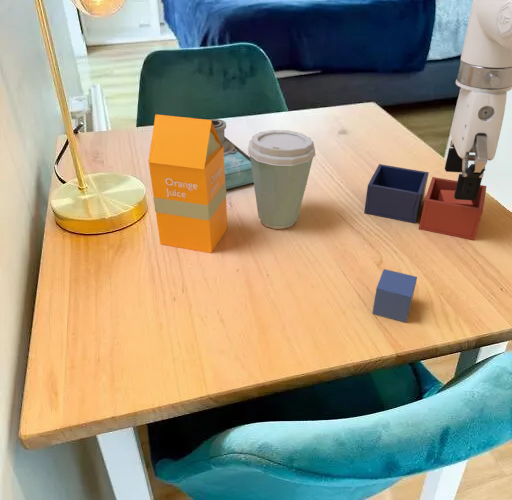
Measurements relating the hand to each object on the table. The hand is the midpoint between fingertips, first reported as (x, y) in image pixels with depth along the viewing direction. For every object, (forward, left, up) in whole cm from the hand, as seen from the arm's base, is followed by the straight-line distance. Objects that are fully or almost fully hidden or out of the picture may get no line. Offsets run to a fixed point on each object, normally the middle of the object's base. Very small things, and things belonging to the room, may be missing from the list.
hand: (459, 184), depth 81 cm
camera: (+45, -2, -7) cm, 45 cm away
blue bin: (+10, -2, -7) cm, 12 cm away
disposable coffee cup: (+27, +10, -7) cm, 29 cm away
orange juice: (+38, +20, -7) cm, 43 cm away
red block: (0, 0, -7) cm, 7 cm away
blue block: (+5, +25, -7) cm, 27 cm away
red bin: (0, 0, -7) cm, 7 cm away
